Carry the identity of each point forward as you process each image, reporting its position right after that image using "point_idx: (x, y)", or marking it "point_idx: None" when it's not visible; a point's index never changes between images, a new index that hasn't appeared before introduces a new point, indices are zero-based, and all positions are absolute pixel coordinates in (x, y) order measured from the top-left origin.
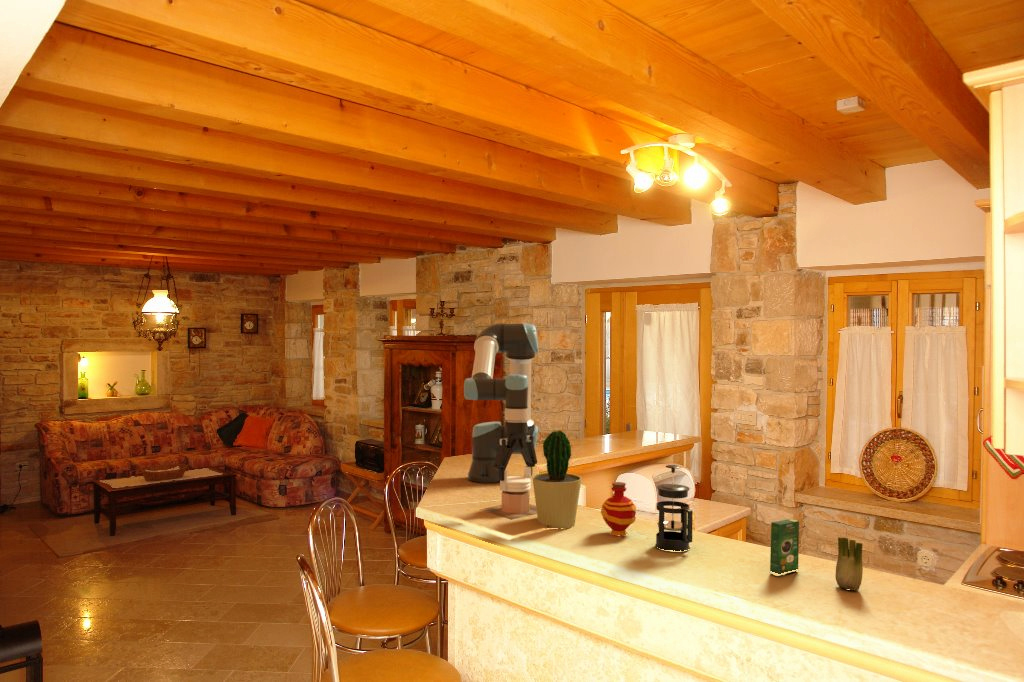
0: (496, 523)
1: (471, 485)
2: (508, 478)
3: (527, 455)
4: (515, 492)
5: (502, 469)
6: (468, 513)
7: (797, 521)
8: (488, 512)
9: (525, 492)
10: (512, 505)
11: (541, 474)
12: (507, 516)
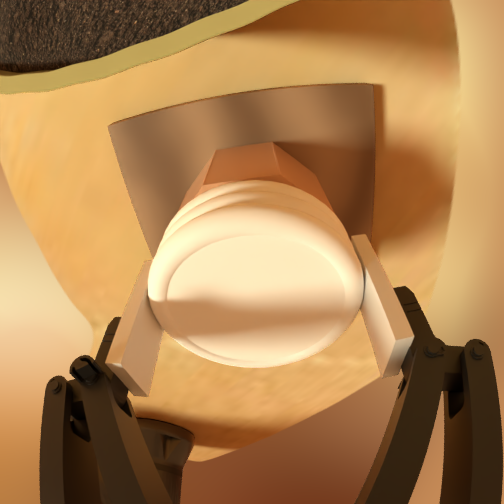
0: (411, 122)
1: (205, 425)
2: (283, 341)
3: (121, 466)
4: None
5: (445, 347)
6: (388, 278)
7: None
8: (371, 229)
9: None
10: (309, 179)
11: (116, 53)
12: (355, 134)
